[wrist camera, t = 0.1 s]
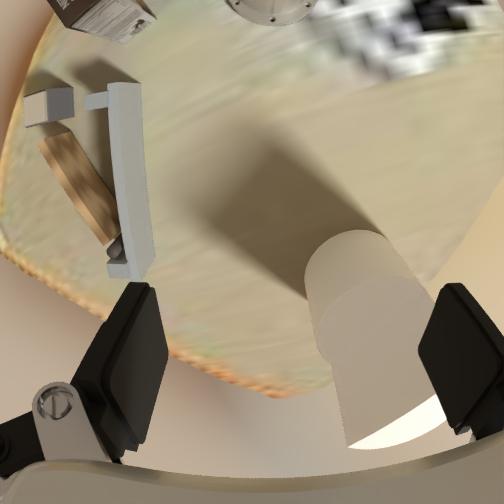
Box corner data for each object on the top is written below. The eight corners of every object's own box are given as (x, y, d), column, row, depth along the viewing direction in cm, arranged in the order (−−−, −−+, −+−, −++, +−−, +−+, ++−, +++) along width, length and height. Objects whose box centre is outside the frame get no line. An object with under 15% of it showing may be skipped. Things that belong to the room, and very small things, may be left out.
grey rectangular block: (49, 93, 37) (21, 96, 30) (73, 87, 37) (45, 88, 30) (51, 121, 39) (23, 128, 33) (74, 116, 39) (47, 122, 33)
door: (138, 231, 48) (120, 255, 41) (130, 236, 49) (111, 260, 42) (72, 130, 40) (42, 139, 33) (65, 137, 40) (35, 146, 33)
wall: (113, 87, 38) (83, 88, 30) (141, 83, 37) (114, 81, 30) (131, 255, 51) (111, 284, 43) (155, 256, 51) (138, 286, 43)
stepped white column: (415, 269, 51) (491, 386, 26) (347, 328, 57) (383, 457, 32) (357, 208, 46) (443, 330, 21) (282, 281, 52) (296, 430, 27)
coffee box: (97, 9, 31) (36, -14, 17) (130, -17, 29) (79, -53, 15) (124, 46, 35) (63, 30, 20) (159, 19, 33) (111, -13, 19)
